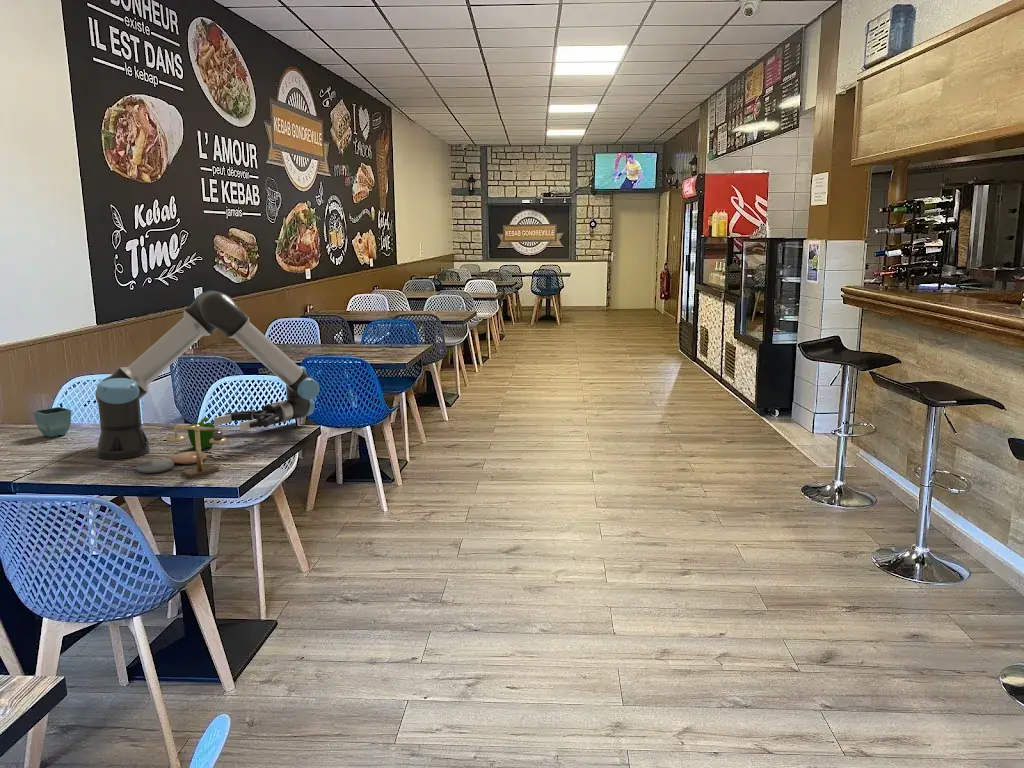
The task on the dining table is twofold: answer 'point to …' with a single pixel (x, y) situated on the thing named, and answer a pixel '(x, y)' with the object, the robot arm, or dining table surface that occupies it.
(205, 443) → the bell pepper
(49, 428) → the flower pot
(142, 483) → the dining table surface
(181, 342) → the robot arm
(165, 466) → the slate dish
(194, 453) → the terracotta dish
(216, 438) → the brass balance
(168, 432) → the dining table surface
